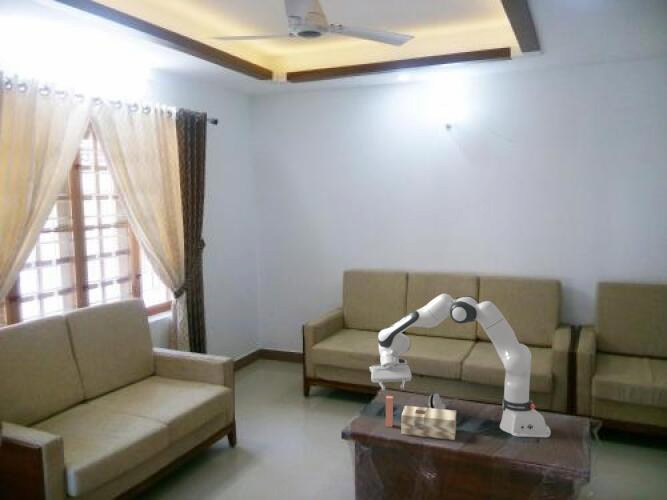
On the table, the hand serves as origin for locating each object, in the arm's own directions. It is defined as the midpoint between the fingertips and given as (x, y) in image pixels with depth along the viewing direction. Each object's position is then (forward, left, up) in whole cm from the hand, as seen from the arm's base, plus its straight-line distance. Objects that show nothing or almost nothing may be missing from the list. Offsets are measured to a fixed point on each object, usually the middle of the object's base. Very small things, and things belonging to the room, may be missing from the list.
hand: (393, 388), depth 277 cm
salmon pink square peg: (0, +12, -14) cm, 18 cm away
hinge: (-21, -10, -14) cm, 27 cm away
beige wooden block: (-19, +14, -14) cm, 27 cm away
